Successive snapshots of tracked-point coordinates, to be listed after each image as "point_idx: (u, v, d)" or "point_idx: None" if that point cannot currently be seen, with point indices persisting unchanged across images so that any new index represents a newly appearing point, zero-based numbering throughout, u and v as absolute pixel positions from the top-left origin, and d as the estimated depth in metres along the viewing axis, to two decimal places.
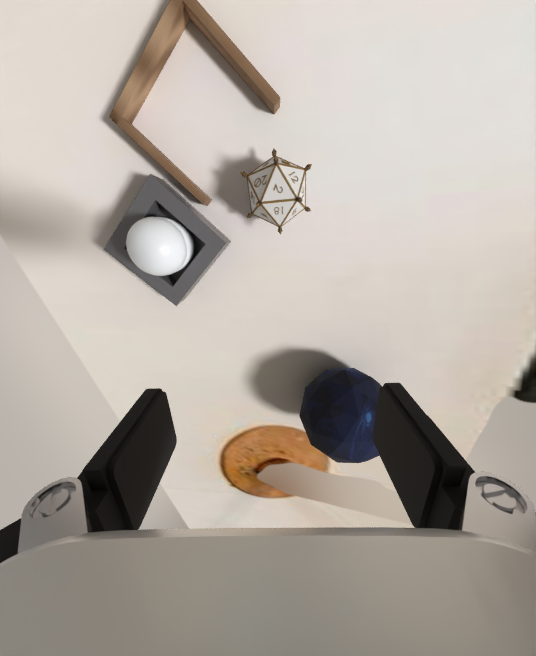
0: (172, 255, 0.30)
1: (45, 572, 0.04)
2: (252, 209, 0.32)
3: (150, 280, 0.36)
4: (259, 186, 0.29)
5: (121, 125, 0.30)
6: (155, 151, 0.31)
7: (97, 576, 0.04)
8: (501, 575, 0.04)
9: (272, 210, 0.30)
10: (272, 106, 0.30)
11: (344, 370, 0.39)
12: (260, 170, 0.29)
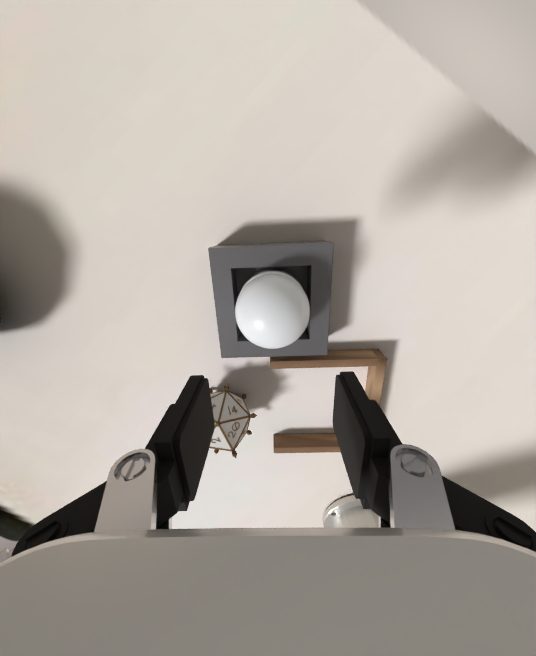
0: (245, 333, 0.23)
1: (45, 572, 0.04)
2: (227, 394, 0.31)
3: (259, 253, 0.24)
4: (231, 427, 0.29)
5: (373, 360, 0.30)
6: (335, 365, 0.30)
7: (97, 576, 0.04)
8: (501, 575, 0.04)
9: None
10: (275, 443, 0.36)
11: None
12: (241, 432, 0.30)
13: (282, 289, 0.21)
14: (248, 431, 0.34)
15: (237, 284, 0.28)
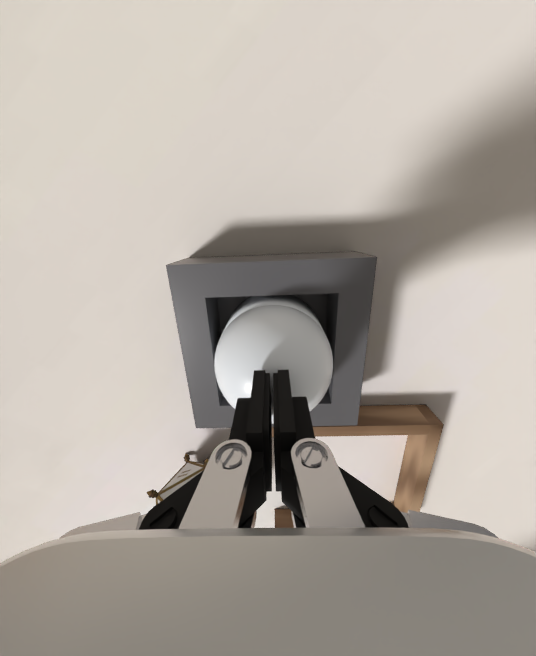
0: (230, 402, 0.14)
1: (45, 572, 0.04)
2: None
3: (251, 273, 0.14)
4: None
5: (423, 427, 0.20)
6: (366, 433, 0.21)
7: (97, 576, 0.04)
8: (501, 575, 0.04)
9: None
10: (277, 525, 0.26)
11: None
12: None
13: (290, 336, 0.12)
14: None
15: (220, 316, 0.19)
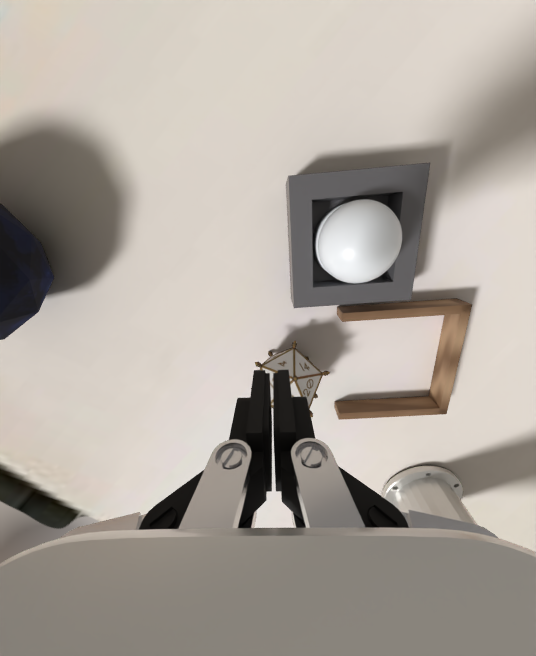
0: (336, 262, 0.21)
1: (45, 572, 0.04)
2: (296, 352, 0.28)
3: (345, 179, 0.22)
4: (306, 384, 0.27)
5: (457, 307, 0.27)
6: (414, 315, 0.28)
7: (97, 576, 0.04)
8: (501, 575, 0.04)
9: None
10: (339, 409, 0.34)
11: (36, 311, 0.25)
12: (315, 391, 0.28)
13: (380, 208, 0.20)
14: (314, 394, 0.31)
15: None
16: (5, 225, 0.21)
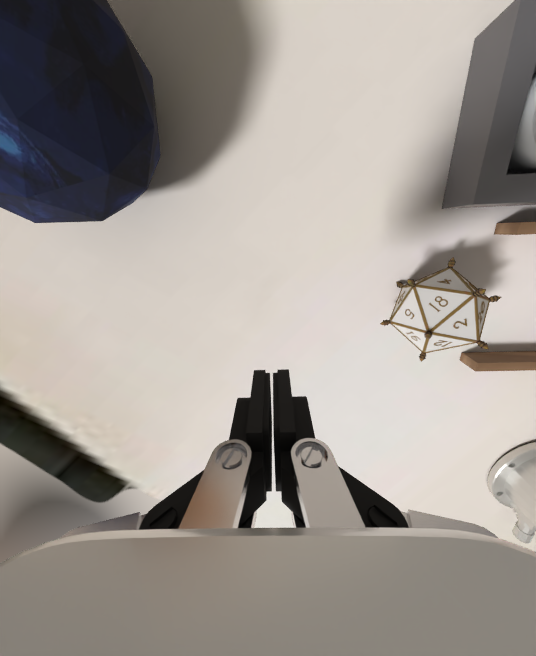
0: None
1: (45, 572, 0.04)
2: (455, 271, 0.22)
3: None
4: (480, 306, 0.21)
5: None
6: None
7: (97, 576, 0.04)
8: (501, 575, 0.04)
9: (448, 297, 0.20)
10: (474, 359, 0.28)
11: (145, 187, 0.19)
12: (484, 319, 0.21)
13: None
14: None
15: None
16: (131, 42, 0.15)
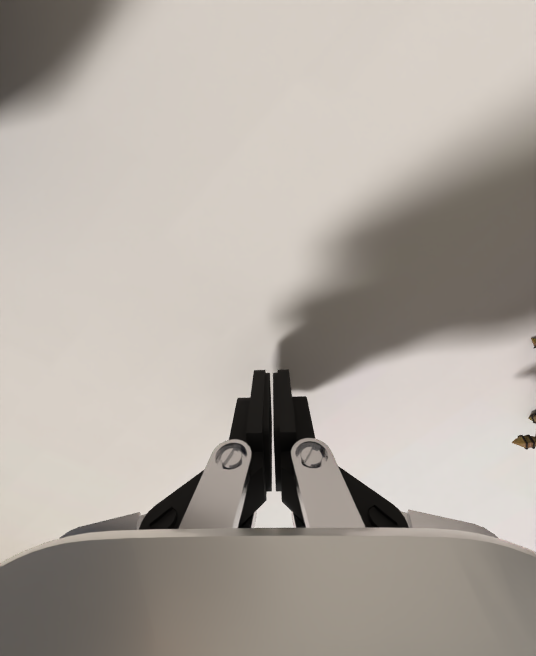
0: None
1: (45, 572, 0.04)
2: None
3: None
4: None
5: None
6: None
7: (97, 576, 0.04)
8: (501, 575, 0.04)
9: None
10: None
11: None
12: None
13: None
14: None
15: None
16: None
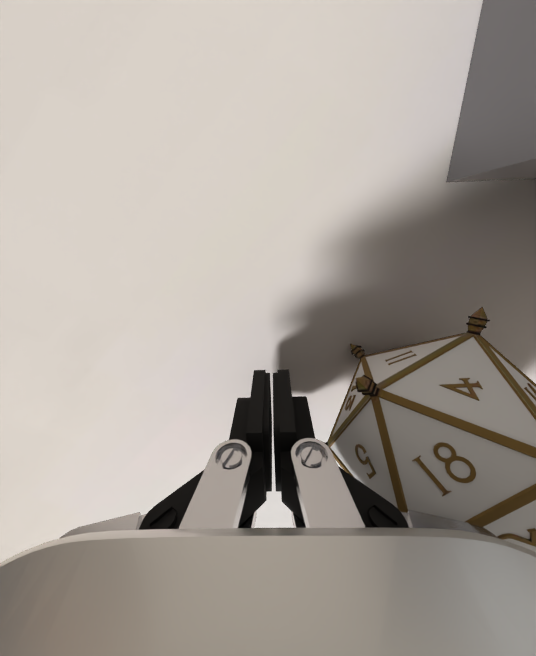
0: None
1: (45, 572, 0.04)
2: (488, 347, 0.08)
3: None
4: None
5: None
6: None
7: (97, 576, 0.04)
8: (501, 575, 0.04)
9: (475, 455, 0.06)
10: None
11: None
12: None
13: None
14: None
15: None
16: None
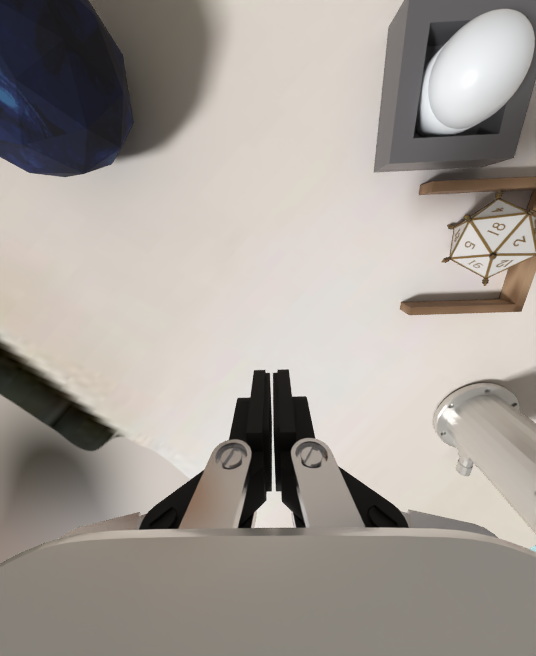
0: (460, 81, 0.20)
1: (45, 572, 0.04)
2: (504, 201, 0.26)
3: None
4: (534, 223, 0.24)
5: None
6: (508, 186, 0.26)
7: (97, 576, 0.04)
8: (501, 575, 0.04)
9: (504, 222, 0.24)
10: (409, 305, 0.32)
11: (119, 146, 0.23)
12: None
13: None
14: None
15: None
16: (103, 25, 0.20)
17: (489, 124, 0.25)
